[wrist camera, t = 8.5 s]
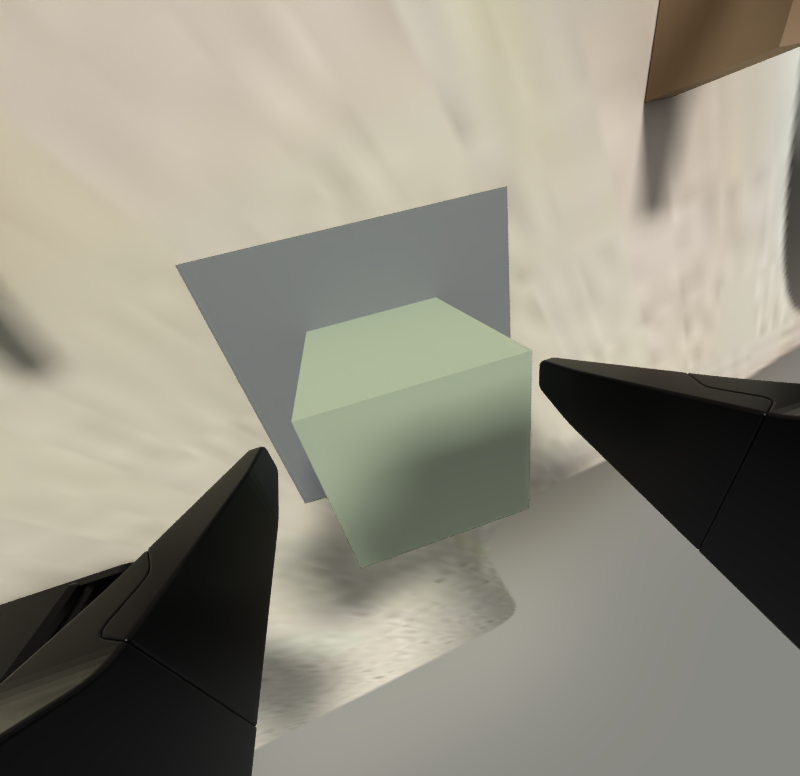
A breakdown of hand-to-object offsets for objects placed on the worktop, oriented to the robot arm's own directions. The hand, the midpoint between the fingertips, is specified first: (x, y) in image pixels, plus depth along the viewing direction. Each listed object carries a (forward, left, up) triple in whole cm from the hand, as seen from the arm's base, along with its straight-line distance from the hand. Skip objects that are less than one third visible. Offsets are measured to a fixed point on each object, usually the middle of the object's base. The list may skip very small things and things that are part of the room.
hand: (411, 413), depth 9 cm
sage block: (0, 0, -3) cm, 3 cm away
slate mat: (0, 0, -4) cm, 4 cm away
